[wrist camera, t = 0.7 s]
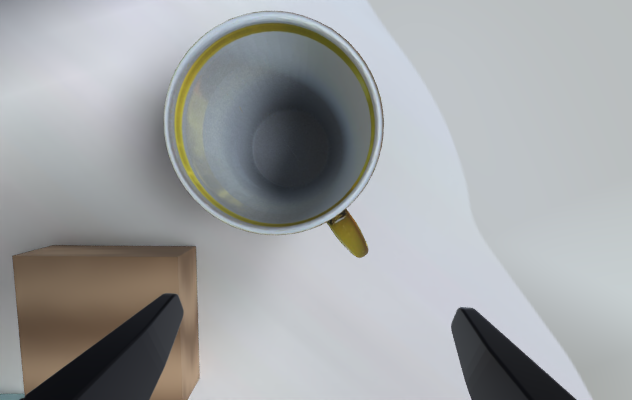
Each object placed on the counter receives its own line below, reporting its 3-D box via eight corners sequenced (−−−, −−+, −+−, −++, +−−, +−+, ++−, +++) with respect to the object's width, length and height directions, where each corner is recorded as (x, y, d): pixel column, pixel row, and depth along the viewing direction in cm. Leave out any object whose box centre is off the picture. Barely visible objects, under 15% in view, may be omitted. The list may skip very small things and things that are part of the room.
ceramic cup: (206, 134, 21) (115, 97, 11) (306, 63, 21) (300, -39, 11) (297, 260, 22) (286, 326, 12) (393, 194, 22) (460, 207, 12)
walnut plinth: (199, 378, 23) (182, 407, 20) (63, 378, 23) (25, 408, 20) (195, 246, 22) (177, 256, 19) (53, 245, 22) (12, 255, 19)
